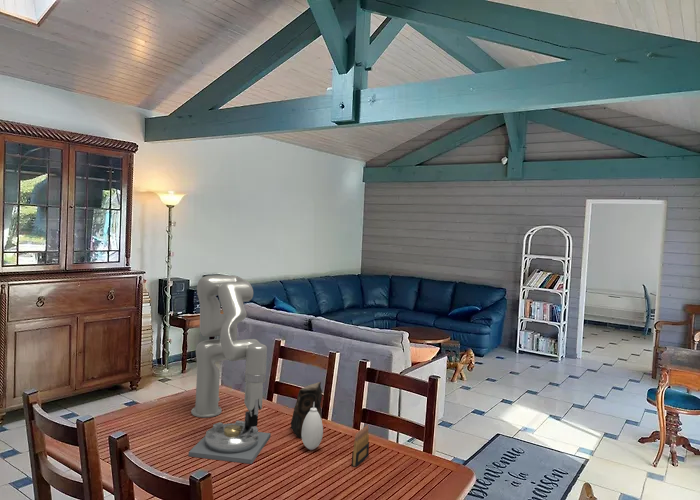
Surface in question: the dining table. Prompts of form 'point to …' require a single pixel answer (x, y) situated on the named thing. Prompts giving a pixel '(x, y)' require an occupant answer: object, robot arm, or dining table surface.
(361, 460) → the brown flat upright block
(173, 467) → the dining table surface
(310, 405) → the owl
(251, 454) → the plate
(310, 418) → the white air blower bulb
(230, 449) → the grey crank wheel
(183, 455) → the dining table surface
